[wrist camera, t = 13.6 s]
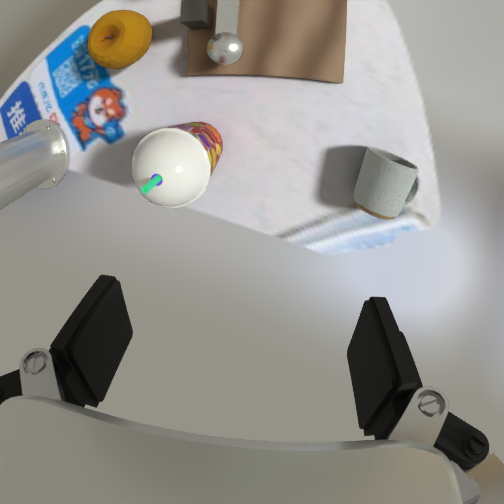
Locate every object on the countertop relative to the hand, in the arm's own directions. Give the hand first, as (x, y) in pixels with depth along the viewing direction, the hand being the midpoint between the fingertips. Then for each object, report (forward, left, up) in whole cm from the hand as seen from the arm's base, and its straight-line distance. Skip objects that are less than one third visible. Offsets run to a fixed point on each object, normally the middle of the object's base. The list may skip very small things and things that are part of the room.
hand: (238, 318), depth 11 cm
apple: (-19, +16, -34) cm, 42 cm away
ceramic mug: (+18, -2, -34) cm, 38 cm away
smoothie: (-9, 0, -34) cm, 35 cm away
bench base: (-1, +18, -33) cm, 38 cm away
